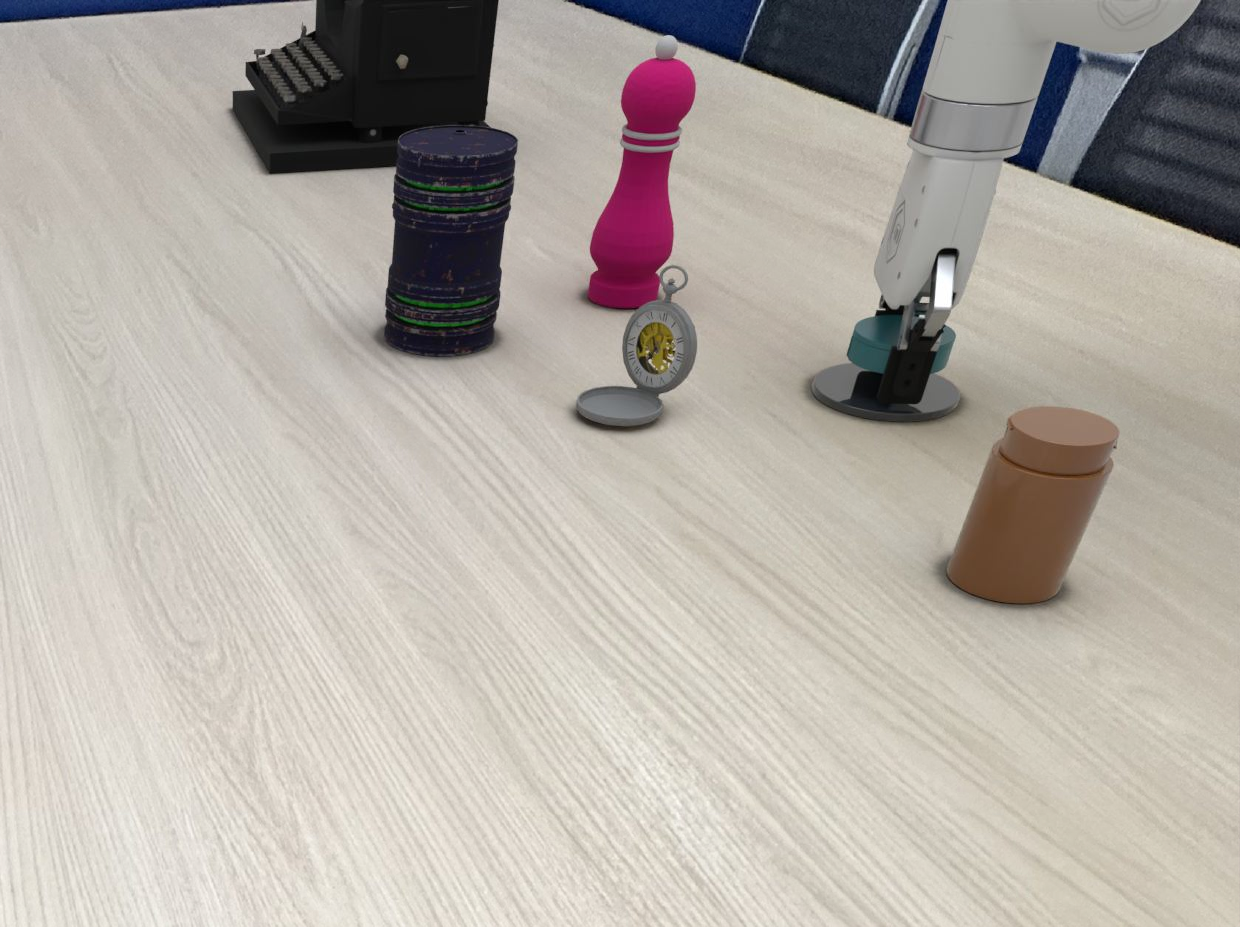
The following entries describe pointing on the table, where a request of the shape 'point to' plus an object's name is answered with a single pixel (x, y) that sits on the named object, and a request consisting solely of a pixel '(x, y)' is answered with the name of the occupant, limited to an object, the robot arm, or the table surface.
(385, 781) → the table surface
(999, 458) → the jam jar
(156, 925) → the table surface
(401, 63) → the typewriter
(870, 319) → the jam lid
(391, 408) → the table surface
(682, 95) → the pepper mill
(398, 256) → the dark blue cylinder
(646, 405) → the pocket watch
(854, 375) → the coaster
